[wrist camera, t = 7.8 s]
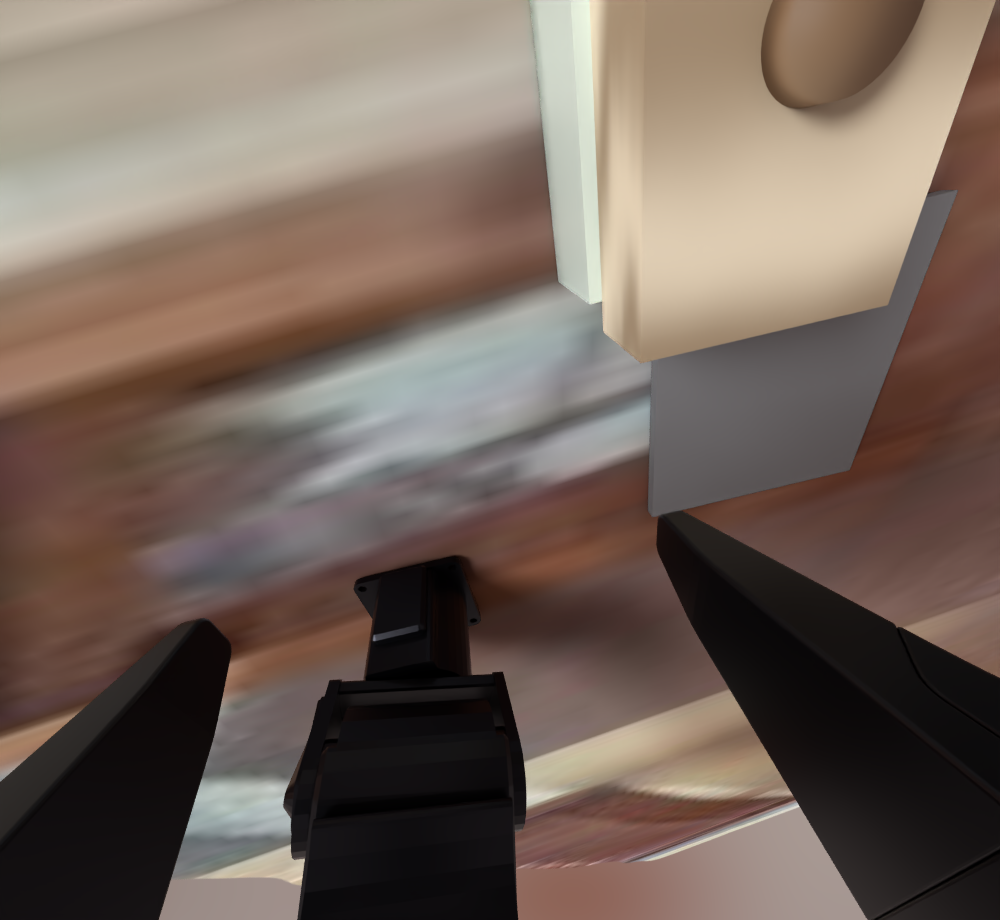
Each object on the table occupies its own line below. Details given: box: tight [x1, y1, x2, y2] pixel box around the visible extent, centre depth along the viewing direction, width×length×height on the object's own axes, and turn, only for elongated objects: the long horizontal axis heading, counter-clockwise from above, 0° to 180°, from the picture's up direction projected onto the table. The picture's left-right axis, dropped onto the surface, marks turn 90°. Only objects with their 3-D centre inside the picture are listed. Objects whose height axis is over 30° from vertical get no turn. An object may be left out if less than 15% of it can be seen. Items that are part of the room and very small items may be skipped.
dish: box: [530, 0, 602, 304], centre depth 12 cm, size 10×8×4 cm
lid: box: [589, 0, 996, 363], centre depth 9 cm, size 12×7×4 cm, turn 11°
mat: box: [648, 190, 958, 517], centre depth 20 cm, size 14×12×1 cm
